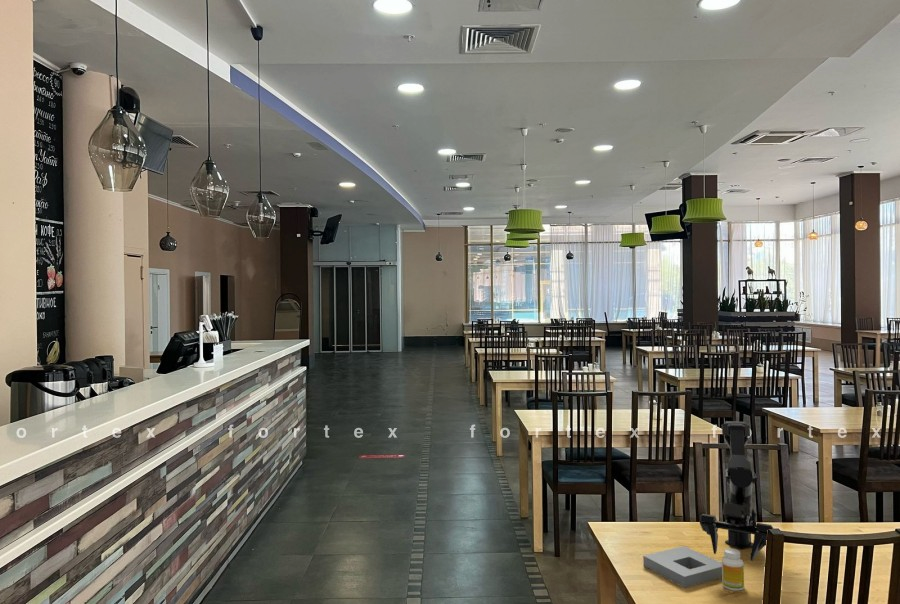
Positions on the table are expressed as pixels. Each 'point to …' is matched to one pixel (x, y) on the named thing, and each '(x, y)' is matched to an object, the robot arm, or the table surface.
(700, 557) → the holder
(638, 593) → the table surface
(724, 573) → the supplement bottle
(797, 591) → the table surface
